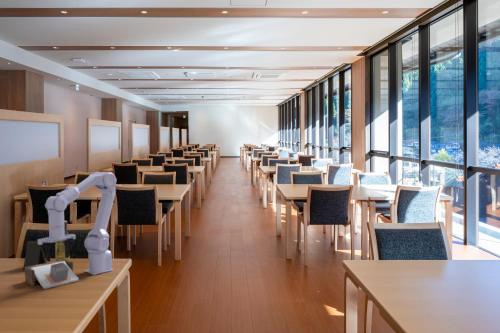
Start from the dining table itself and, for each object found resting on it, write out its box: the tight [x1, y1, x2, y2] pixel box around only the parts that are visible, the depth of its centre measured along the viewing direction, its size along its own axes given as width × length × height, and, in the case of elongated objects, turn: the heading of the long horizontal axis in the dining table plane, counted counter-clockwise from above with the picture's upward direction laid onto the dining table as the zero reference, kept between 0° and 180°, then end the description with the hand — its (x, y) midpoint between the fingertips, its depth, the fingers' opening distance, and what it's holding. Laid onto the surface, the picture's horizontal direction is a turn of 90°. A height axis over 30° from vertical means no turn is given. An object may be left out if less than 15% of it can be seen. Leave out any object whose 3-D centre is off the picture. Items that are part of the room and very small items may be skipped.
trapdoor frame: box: [24, 259, 74, 286], centre depth 192 cm, size 17×8×6 cm, turn 136°
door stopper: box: [23, 240, 47, 271], centre depth 210 cm, size 9×6×12 cm, turn 173°
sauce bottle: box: [54, 220, 70, 261], centre depth 217 cm, size 6×6×20 cm
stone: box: [50, 263, 69, 282], centre depth 185 cm, size 5×5×5 cm
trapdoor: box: [31, 261, 80, 290], centre depth 188 cm, size 14×14×1 cm
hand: (57, 259), depth 186 cm, fingers open, 7 cm apart
